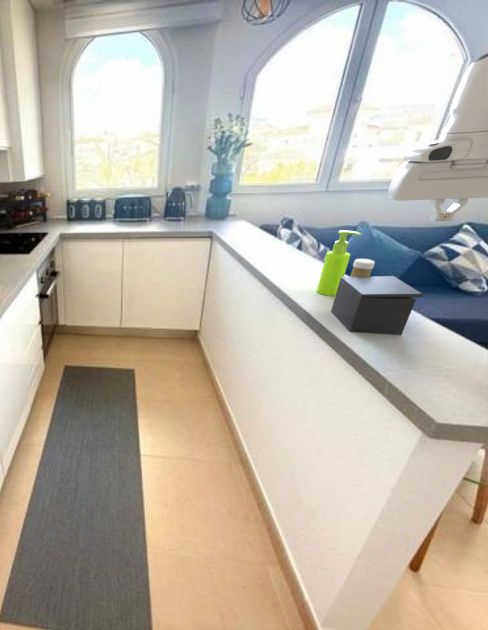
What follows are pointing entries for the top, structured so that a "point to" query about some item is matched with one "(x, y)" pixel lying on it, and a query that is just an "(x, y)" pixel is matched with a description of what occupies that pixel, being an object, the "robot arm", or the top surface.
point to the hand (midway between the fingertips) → (440, 220)
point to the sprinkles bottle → (362, 268)
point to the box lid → (380, 286)
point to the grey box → (371, 311)
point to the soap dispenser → (335, 265)
